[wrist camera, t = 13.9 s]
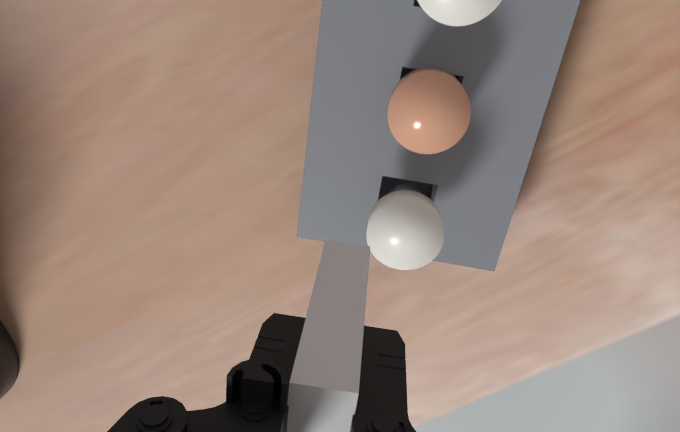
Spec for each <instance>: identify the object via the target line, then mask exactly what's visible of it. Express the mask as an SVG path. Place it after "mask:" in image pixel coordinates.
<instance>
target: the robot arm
mask: <svg viewBox="0 0 680 432" xmlns="http://www.w3.org/2000/svg"><path fill="white" fill-rule="evenodd" d="M369 256H370V246H364V245H357V244H350V243H343V242H337V241H330V240H325V244H324V248H323V252H322V256H321V260H320V264H319V268H318V272H317V276H316V280H315V284H314V288H313V292H312V295H311V299H310V303H309V307H308V311H307V315H306V318H302V317H296V316H289V315H283V314H276V313H274V314H273V315H272V316H270V317H269V318H268V319H267V320H266V321H265V322H264V323H263V324H262V327H261V329H260V332H259V335H258V339H257V340H256V343H255V345H254V349H253V351H252V353H251V356H250V359H249V360H247V361H243V362H241V363H239V364H237V365H236V366H234V367H233V368H232V369H231V370H230V372H229V373H228V375H227V389H226V402H225V403H223V404H221V405H218V406H216V407H213V408H208V409H203V410H194V411H186V409H185V407H184V406H183V404H182V403H180V402H179V401H177V400H176V399H174V398H169V397H164V396H161V397H152V398H148V399H146V400H143V401H140V402H138V403H137V404H136V405H134V406H133V407H132V408H130V409H129V410H128V411H127V412H126V413H125V414H124V415H123V416H122V417H121V418H120V419H119V420H118V421H117V422H116V423H115V424H114V425H113V426H112V427H111V428H110V429H109V431H108V432H416V431H415V430H414V428H413V427H412V425H411V423H410V421H409V418H408V413H407V387H406V361H405V343H404V342H403V340H402V338H401V337H400V335H399V333H398V332H397V331H395V330H388V329H382V328H375V327H369V326H364V319H365V306H366V294H367V281H368V268H369ZM17 372H18V361H17V356H16V352H15V349H14V346H13V344H12V342H11V340H10V338H9V336H8V334H7V333H6V331H5V330H4V328H3V327H2V325H1V324H0V399H1V398H2V397H3V396H4V395H5V394H6V393H7V392H8V391H9V390H10V389H11V387H12V386H13V384H14V382H15V380H16V377H17Z"/></svg>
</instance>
